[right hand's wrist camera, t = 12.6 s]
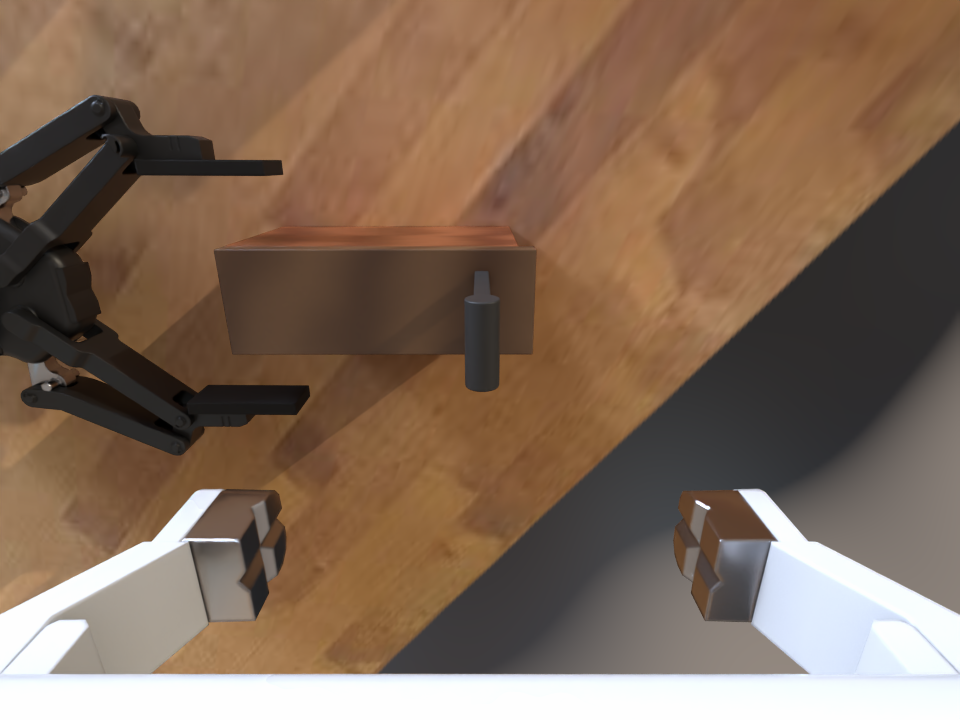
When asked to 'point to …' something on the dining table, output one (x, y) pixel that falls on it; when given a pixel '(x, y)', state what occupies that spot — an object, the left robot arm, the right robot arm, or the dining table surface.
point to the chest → (384, 236)
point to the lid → (382, 301)
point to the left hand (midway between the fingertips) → (290, 292)
